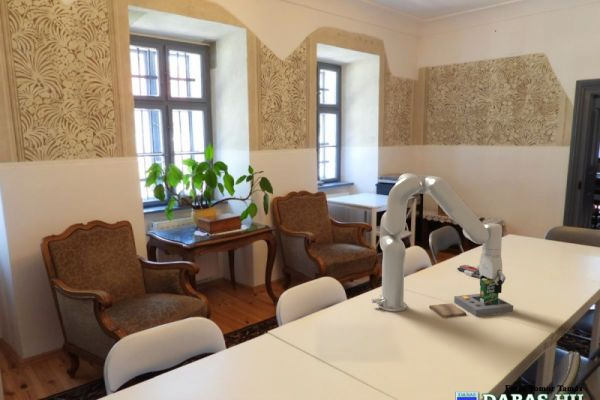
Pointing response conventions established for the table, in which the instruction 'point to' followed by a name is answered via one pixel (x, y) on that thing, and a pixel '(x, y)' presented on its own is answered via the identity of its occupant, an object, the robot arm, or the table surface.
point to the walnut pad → (447, 310)
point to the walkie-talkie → (469, 270)
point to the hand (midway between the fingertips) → (490, 289)
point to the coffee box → (488, 292)
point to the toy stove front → (482, 305)
